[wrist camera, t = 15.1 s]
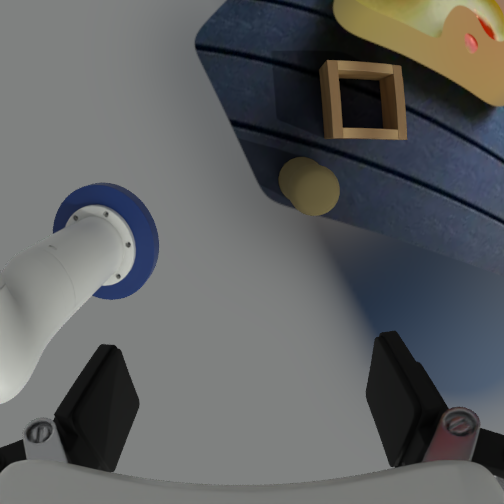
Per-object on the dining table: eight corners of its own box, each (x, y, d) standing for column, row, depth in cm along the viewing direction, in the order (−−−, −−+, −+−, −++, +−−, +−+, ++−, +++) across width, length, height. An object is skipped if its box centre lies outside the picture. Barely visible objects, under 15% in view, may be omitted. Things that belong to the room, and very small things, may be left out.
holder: (324, 138, 38) (333, 138, 33) (318, 69, 35) (326, 59, 30) (391, 139, 38) (407, 140, 33) (386, 73, 35) (401, 65, 30)
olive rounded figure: (334, 179, 40) (359, 191, 29) (303, 212, 41) (317, 235, 31) (300, 147, 39) (315, 147, 28) (268, 181, 40) (272, 194, 30)
